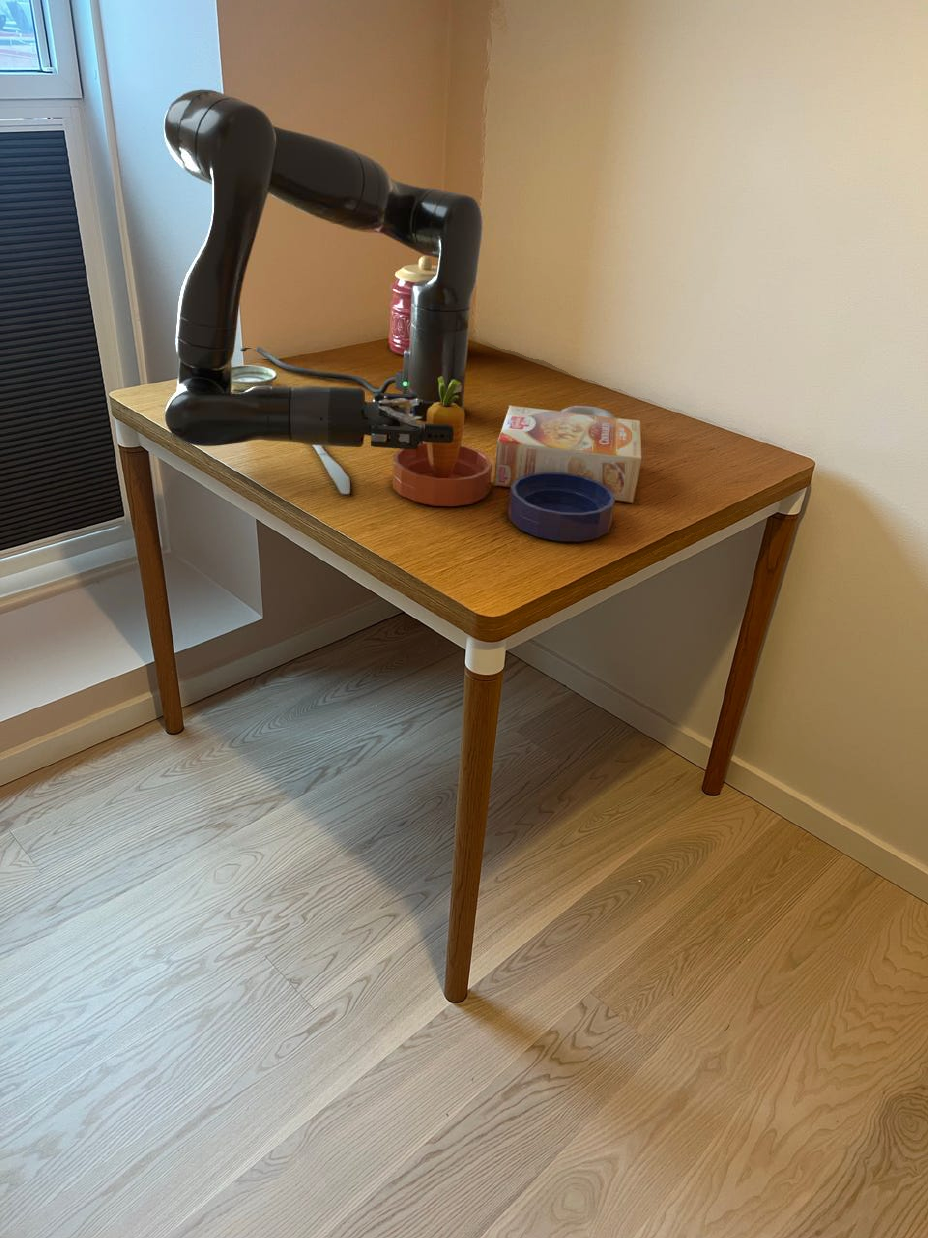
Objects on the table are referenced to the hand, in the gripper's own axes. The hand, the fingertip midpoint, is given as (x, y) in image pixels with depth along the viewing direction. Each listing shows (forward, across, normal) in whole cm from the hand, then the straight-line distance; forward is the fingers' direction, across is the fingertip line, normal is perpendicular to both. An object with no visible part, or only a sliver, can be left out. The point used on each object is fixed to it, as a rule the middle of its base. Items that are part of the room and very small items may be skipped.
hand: (451, 422), depth 120 cm
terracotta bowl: (-1, 0, +9) cm, 9 cm away
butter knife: (-17, +9, +9) cm, 21 cm away
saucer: (-32, +38, +10) cm, 51 cm away
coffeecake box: (+27, +4, +6) cm, 28 cm away
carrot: (-1, 0, +9) cm, 9 cm away
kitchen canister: (-2, +66, +10) cm, 67 cm away
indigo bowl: (+14, -9, +9) cm, 19 cm away
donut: (+23, +24, +10) cm, 35 cm away
